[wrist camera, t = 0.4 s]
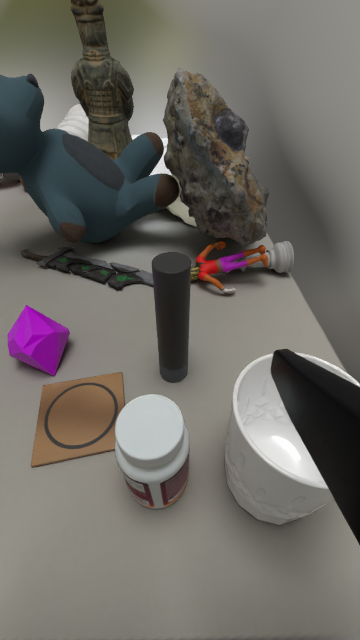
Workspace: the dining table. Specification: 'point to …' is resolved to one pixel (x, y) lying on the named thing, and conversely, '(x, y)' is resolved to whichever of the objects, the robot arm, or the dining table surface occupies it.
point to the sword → (91, 267)
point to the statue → (101, 83)
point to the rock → (212, 161)
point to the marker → (172, 312)
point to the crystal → (37, 340)
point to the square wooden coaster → (78, 418)
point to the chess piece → (275, 258)
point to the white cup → (271, 450)
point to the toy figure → (224, 264)
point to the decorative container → (75, 122)
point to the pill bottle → (153, 450)
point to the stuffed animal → (78, 170)
